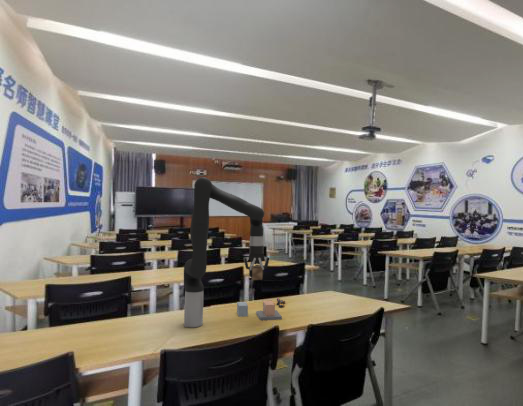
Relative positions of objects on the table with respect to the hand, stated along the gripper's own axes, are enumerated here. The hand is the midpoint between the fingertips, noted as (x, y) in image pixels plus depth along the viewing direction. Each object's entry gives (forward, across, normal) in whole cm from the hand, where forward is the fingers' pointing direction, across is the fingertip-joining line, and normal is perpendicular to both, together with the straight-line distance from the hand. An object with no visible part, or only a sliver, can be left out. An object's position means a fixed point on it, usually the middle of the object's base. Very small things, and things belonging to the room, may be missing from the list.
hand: (256, 276), depth 175 cm
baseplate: (+24, -9, -8) cm, 27 cm away
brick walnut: (+1, 0, 0) cm, 1 cm away
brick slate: (+24, +5, -14) cm, 28 cm away
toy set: (+25, -19, -29) cm, 43 cm away
